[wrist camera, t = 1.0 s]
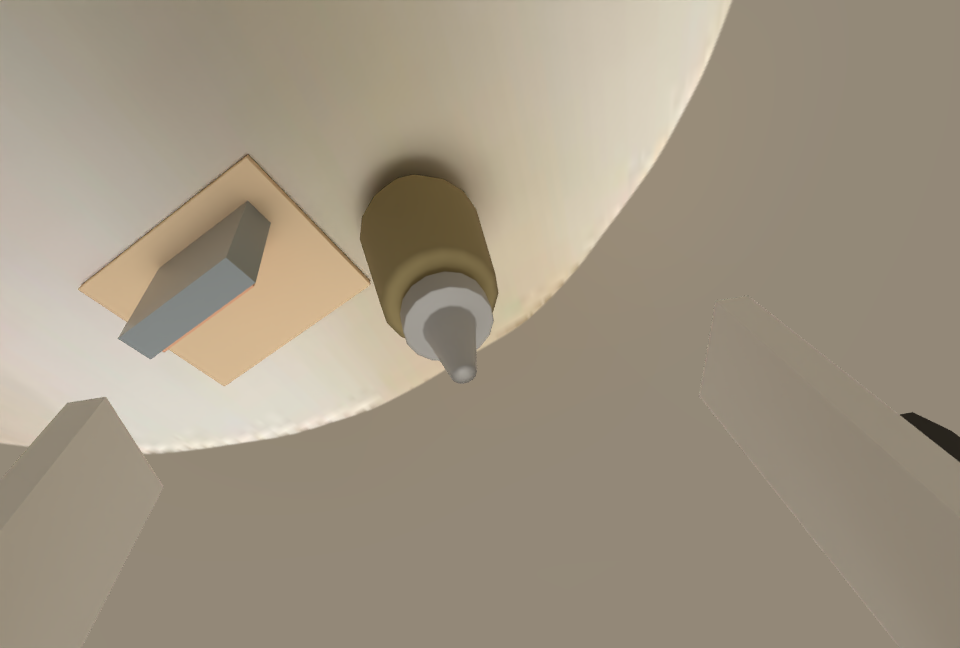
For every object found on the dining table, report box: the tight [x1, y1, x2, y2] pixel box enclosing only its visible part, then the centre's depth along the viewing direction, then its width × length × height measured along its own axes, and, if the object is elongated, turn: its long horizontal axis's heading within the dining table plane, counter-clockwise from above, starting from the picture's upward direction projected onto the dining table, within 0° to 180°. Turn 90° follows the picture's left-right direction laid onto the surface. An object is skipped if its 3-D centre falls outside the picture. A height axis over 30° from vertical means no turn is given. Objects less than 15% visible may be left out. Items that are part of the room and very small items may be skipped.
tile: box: [118, 200, 271, 359], centre depth 31 cm, size 2×8×8 cm, turn 122°
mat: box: [78, 155, 370, 386], centre depth 36 cm, size 12×15×1 cm
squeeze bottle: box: [360, 174, 498, 383], centre depth 29 cm, size 8×8×18 cm
